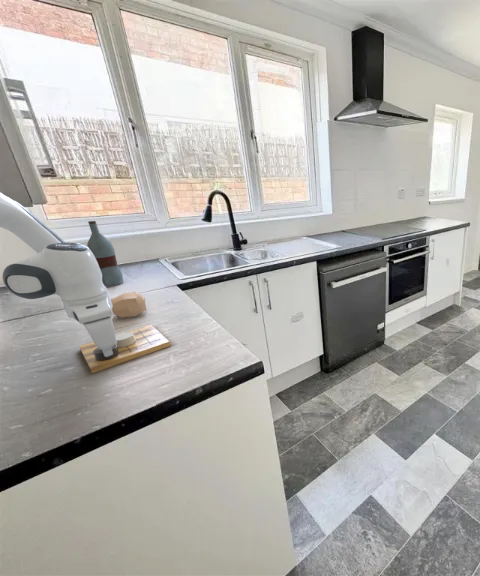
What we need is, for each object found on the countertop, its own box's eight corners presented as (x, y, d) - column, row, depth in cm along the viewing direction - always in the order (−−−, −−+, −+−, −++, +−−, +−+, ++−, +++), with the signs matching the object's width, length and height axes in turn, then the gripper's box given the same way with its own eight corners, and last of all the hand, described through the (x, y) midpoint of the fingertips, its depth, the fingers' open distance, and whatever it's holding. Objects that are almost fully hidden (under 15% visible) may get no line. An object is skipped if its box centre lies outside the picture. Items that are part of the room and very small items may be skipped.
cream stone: (109, 347, 90) (107, 340, 89) (124, 339, 94) (121, 332, 94) (126, 347, 90) (124, 340, 89) (139, 339, 94) (137, 332, 93)
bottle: (111, 280, 153) (91, 219, 143) (129, 280, 153) (110, 219, 143) (94, 287, 145) (71, 222, 134) (113, 287, 144) (91, 222, 134)
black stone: (90, 361, 83) (87, 353, 82) (106, 351, 88) (104, 343, 87) (108, 361, 83) (105, 353, 82) (123, 351, 88) (121, 343, 87)
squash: (113, 325, 107) (99, 302, 104) (119, 313, 123) (108, 293, 120) (149, 313, 112) (137, 290, 109) (151, 302, 128) (140, 283, 125)
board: (80, 350, 91) (78, 345, 91) (152, 328, 104) (151, 324, 104) (92, 373, 80) (90, 368, 80) (170, 345, 93) (169, 341, 93)
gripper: (66, 299, 84) (84, 343, 89) (79, 319, 72) (98, 370, 77) (96, 292, 89) (112, 335, 93) (113, 311, 76) (130, 358, 81)
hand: (106, 351), depth 85 cm, fingers closed on black stone, 5 cm apart
